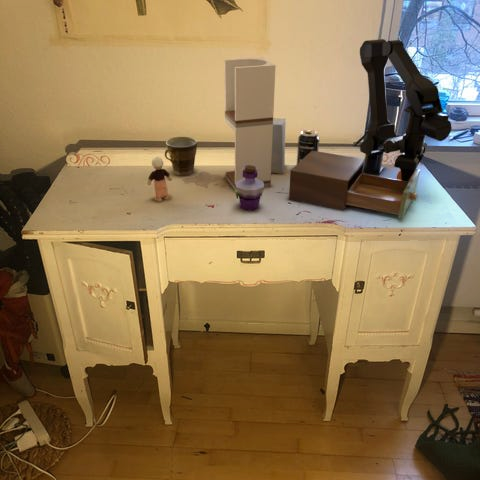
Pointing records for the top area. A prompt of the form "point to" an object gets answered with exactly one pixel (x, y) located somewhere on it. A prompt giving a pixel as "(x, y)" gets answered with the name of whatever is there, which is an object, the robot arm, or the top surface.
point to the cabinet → (324, 179)
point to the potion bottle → (249, 189)
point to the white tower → (250, 115)
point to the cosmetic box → (278, 146)
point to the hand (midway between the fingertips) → (405, 181)
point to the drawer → (383, 193)
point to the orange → (400, 176)
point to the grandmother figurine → (159, 179)
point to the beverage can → (307, 144)
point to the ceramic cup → (182, 154)
